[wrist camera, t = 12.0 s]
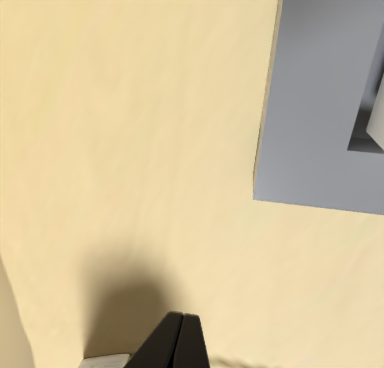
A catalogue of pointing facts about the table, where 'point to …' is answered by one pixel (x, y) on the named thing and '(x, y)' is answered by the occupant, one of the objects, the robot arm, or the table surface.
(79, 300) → the table surface
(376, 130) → the plug
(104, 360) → the syrup box
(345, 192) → the socket
